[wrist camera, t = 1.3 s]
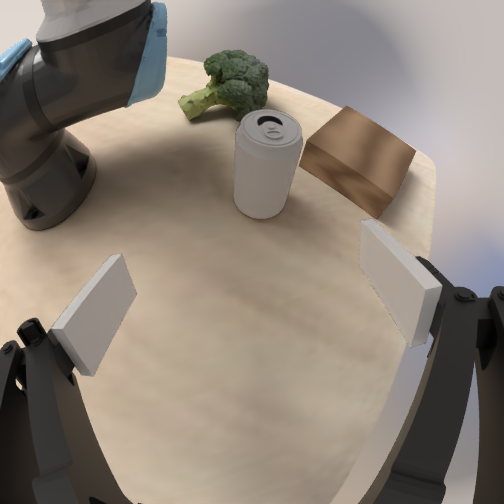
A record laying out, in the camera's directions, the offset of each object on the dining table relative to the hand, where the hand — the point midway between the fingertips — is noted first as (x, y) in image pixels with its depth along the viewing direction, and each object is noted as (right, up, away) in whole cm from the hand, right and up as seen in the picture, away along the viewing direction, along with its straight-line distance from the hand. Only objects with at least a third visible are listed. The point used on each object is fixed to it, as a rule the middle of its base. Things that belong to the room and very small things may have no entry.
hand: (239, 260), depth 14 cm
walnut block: (+16, +13, +24) cm, 32 cm away
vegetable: (-4, +23, +27) cm, 36 cm away
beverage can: (+2, +7, +20) cm, 21 cm away
